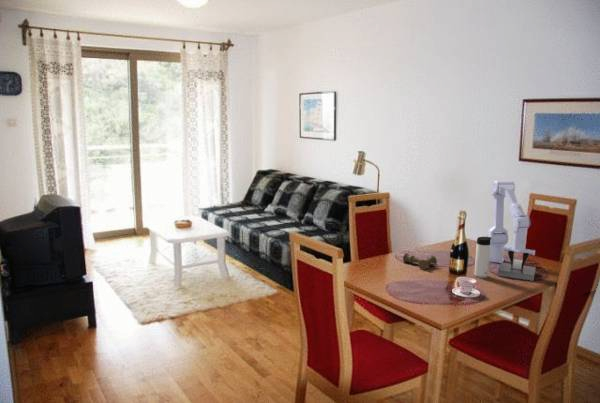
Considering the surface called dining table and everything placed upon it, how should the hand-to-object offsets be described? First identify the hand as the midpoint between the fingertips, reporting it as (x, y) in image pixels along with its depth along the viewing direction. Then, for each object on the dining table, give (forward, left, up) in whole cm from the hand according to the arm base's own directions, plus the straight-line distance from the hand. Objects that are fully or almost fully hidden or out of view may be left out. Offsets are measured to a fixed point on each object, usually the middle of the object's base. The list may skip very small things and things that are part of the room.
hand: (517, 266), depth 243 cm
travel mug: (-15, -12, -4) cm, 20 cm away
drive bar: (0, 0, -4) cm, 4 cm away
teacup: (-18, -38, -4) cm, 42 cm away
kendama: (-45, -10, -4) cm, 47 cm away
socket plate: (0, 0, -4) cm, 4 cm away
